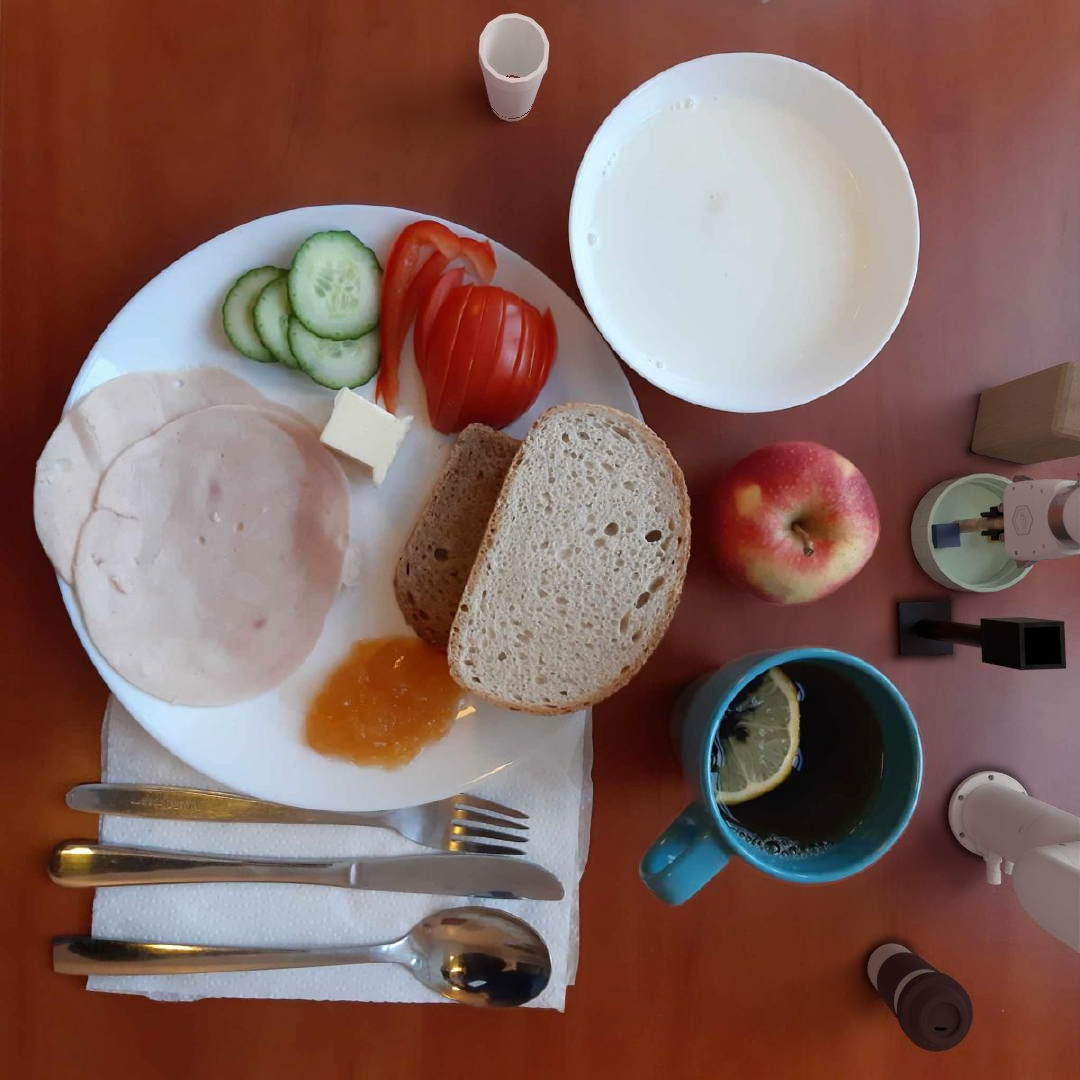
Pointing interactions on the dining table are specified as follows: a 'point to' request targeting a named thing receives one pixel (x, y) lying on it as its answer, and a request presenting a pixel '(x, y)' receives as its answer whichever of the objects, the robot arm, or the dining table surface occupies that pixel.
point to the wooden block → (1031, 417)
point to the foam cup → (513, 63)
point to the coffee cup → (921, 998)
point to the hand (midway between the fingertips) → (991, 524)
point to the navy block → (946, 535)
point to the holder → (981, 636)
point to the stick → (980, 524)
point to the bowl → (964, 536)
